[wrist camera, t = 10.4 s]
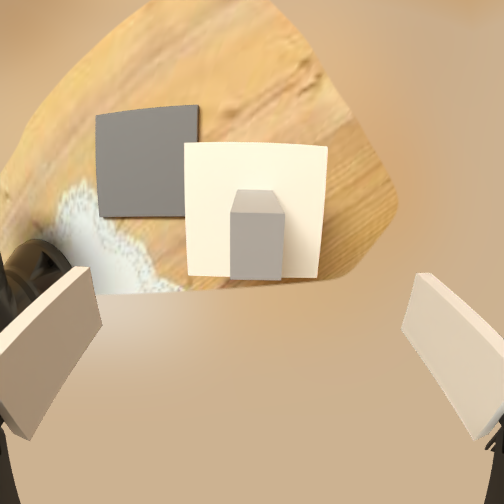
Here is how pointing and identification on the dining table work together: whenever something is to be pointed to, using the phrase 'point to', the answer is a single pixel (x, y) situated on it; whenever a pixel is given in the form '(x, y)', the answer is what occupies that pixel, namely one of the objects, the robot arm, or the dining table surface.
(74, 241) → the dining table surface
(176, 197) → the mat
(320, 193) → the lid
